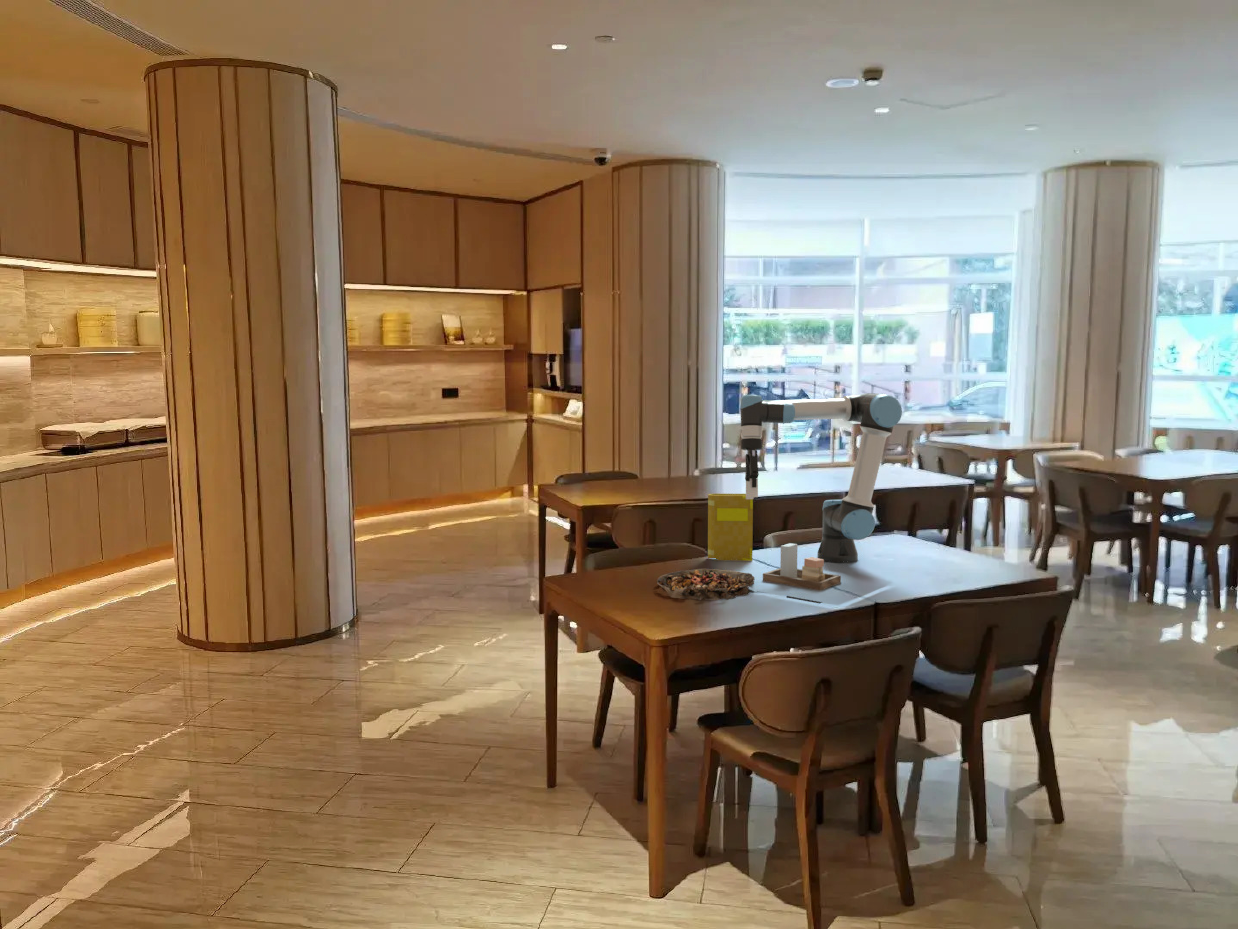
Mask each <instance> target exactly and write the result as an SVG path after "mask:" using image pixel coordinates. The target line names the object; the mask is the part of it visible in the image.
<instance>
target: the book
mask: <svg viewBox="0 0 1238 929" xmlns="http://www.w3.org/2000/svg"><path fill="white" fill-rule="evenodd" d="M753 514H754V499H746V493H708V494H707V559H708V558H716V559H718V560H717V561H742V562H753V538H754V537H753V526H754V525H753V522H754V515H753Z"/></svg>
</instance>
